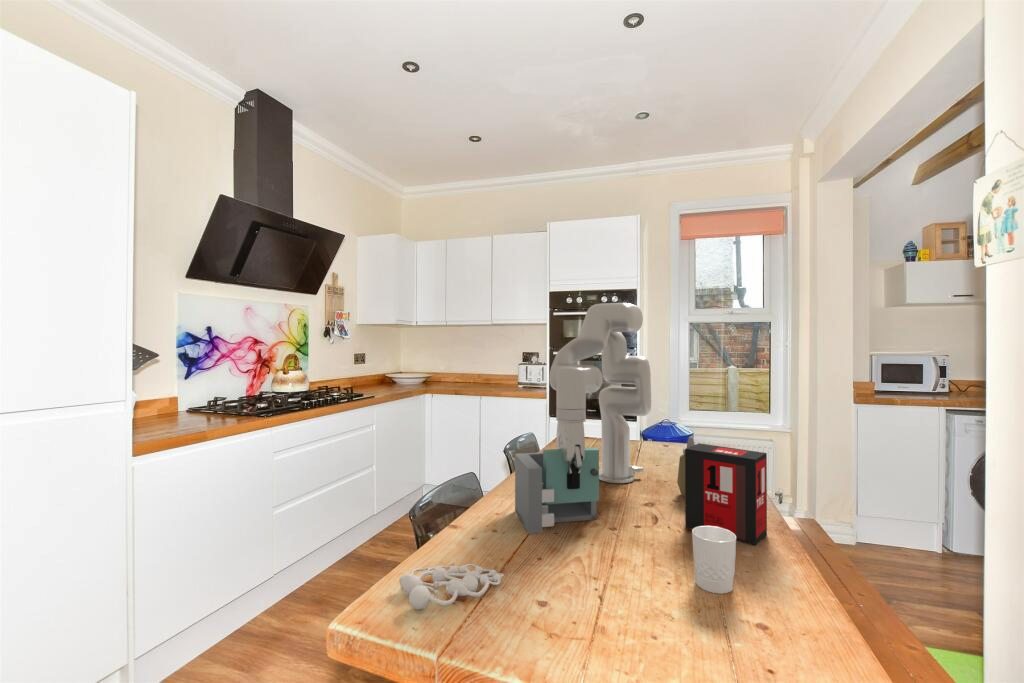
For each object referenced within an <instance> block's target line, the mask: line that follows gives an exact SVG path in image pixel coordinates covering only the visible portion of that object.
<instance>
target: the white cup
mask: <svg viewBox="0 0 1024 683" xmlns="http://www.w3.org/2000/svg"><path fill="white" fill-rule="evenodd" d="M691 537H692V553H693V554H692V556H693V558H692V559H693V567H694V581H695V584H696V585H697V587H699V588H701V589H702V590H704V591H706V592H709V593H714V594H720V595H721V594H722V595H723V594H724V595H725V594H728V593H730V592H733V589H734V576H735V567H736V552H737V550H736V549H737V541H736V535H735V534H734V533H732V532H731V531H729V530H726V529H723V528H720V527H714V526H698V527H695V528H693V529H691Z"/></svg>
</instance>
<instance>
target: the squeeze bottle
mask: <svg viewBox="0 0 1024 683" xmlns="http://www.w3.org/2000/svg"><path fill="white" fill-rule="evenodd" d="M693 445H696V444H695V440H694V436H689V437H688V440H687V445H686V447H683V448H682V454H681V456H679V461H678V462H679V463H678V471H677V472H678V473H677V479H676V480H677V482H676V483H677V486H678V489H679V492H680V495H681V496H682V497H684V498H685V449H686V448H688V447H691V446H693Z"/></svg>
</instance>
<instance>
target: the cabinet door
mask: <svg viewBox="0 0 1024 683" xmlns="http://www.w3.org/2000/svg"><path fill="white" fill-rule="evenodd" d="M542 452H543V489H554V502H545V503H546V504H558V503H573V502H588V501H597V502H599V501H600V480H599V472H600V449H598V448H596V447H585V458H584V460H583V461H582V467H581V468H580V488H579V489H568V488H567V473H569V472H568V462H565V461H564V460H563V459H562V451H561V450H559V449H556V448H554V449H552V448H551V449H543V450H542ZM572 460H575V458H572ZM573 464H575V463H573ZM573 464H572V465H573Z"/></svg>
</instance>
